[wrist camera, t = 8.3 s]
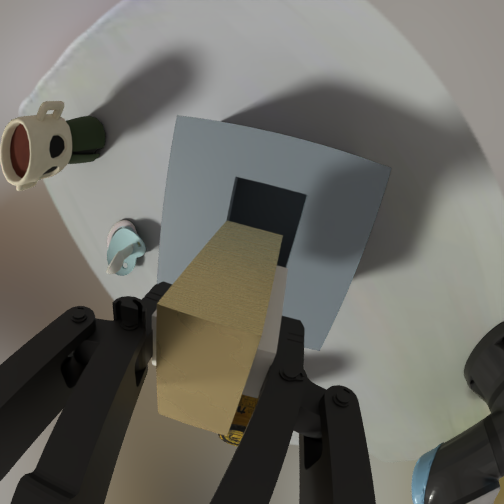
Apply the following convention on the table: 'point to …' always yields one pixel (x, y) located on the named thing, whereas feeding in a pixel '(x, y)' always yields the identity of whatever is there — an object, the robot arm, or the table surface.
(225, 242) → the gold brushed block
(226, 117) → the table surface
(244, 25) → the table surface
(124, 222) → the pacifier
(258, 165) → the box
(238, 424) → the condiment
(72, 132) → the character mug
